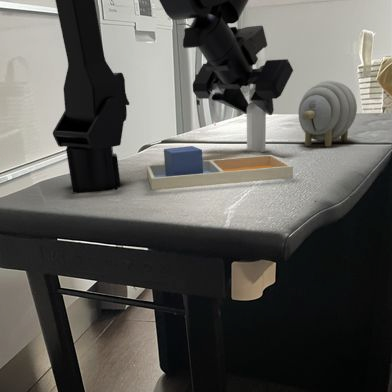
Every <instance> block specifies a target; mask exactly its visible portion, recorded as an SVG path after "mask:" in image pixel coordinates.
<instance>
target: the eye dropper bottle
mask: <svg viewBox="0 0 392 392" xmlns="http://www.w3.org/2000/svg"><path fill="white" fill-rule="evenodd" d="M254 89H255V87H254V86H253V85H252V87H251V88H250V89H249V92H248V93H249V94H248V95H249V96H248V97H249V100H248V101H249V102H248V104H249V105H248V107H247V114H246V151H247V152H251V151H252V152H253V151H257V152H260V153H264V152H266V150H267V149H266V147H267V145H266V144H267V142H266V140H267V139H266V138H267V137H266V135H267V133H266V132H267V131H266V130H267V124H266V123H267V121H266V120H267V119H266V118H267V115H266V114H267V113H266V112H264V111H263V110H262V109H261V108H260V107H258V106H257V105H256V104H255V103H253V102H252V101H251V98H252V96H253V94H254V92H255V90H254Z"/></svg>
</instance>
